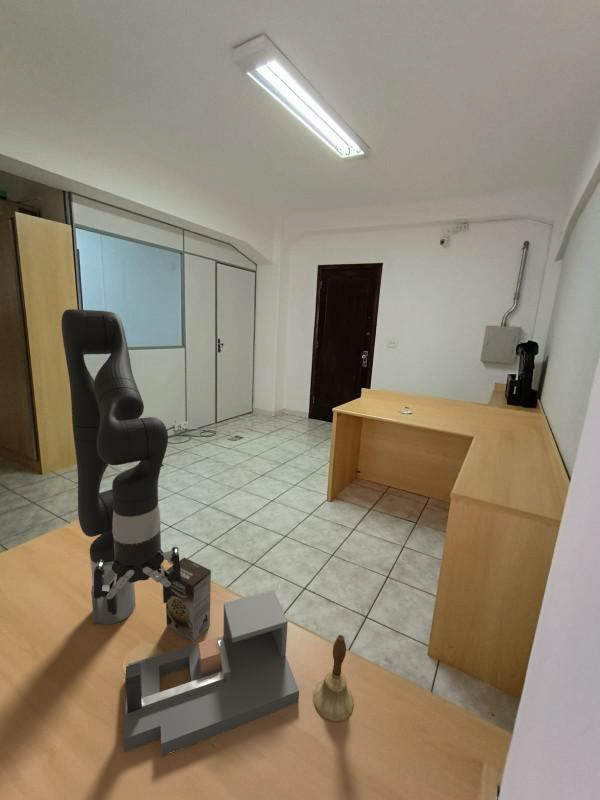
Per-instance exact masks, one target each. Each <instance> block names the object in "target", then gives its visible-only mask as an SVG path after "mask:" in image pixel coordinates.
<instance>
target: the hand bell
mask: <svg viewBox="0 0 600 800" xmlns="http://www.w3.org/2000/svg"><path fill="white" fill-rule="evenodd" d="M346 653H347V644H346V642H345V637H344V634H343V635H342V634H338V635H337V638H336V640H335V641H334V643H333V647H332V659H333V667H332V669H330V670H328V671H327V672H326V673H325V676H324V679H322V680H321V681H319V682H318V684H317V685H316V686H315V689H314V691H313V705H314V707H315V709H316V711H317V712H318V714H320V716H322V717H323V718H324V719H325V720H328V721H330V722H334V723H336V722H337V723H338V722H342V721H345V720H346V719H348V718H349V716H351V714H352V712H353V709H354V705H355V704H354V703H355V702H354V696H353V693H352V692H351V689H350V688H349V687H348V685H347V684H348V683H347V682H348V681H347V678H346V676H345V674H344V673H343V672H342V664H343V663H344V660H345V658H346Z"/></svg>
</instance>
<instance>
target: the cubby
mask: <svg viewBox="0 0 600 800" xmlns="http://www.w3.org/2000/svg"><path fill="white" fill-rule="evenodd" d="M284 612H285V611H284V610H283V608H282V606H281V604H280V601H279V599H278V596H277V594H276V592H275V590H274V589H273V590H269V591H265V592H260V593H257V594H253V595H250V596H249V595H248V596H245V597H242V598H237V599H234V600H233V599H232V600H230V601H227V602H223V629H222V630H223V631H222V633H223V634H222V636H217V638H218V641H220V640H224V644H225V649H226V653H227V658H228V662H229V667H230V671H231V677H230V681H229V682H226V683H223V684H220V685H217V686H214V687H211V688H209V689H206V690H203V691H200V692H197V693H194V694H191V695H188V696H186V697H183V698H180V699H177V700H174V701H171V702H168V703H165V704H163V705H160V706H157V707H154V708H151V709H148V710H145V711H142V712H139V713H137V714H134V715H131V716H128V712H127V697H126V698H125V713H124V728H123V749H124V750H123V751H124V752H125V751H126V752H128V751H132V750H133V749H136V748H138V747H142V746H143V745H147V744H150V743H151V742H154V741H157V740H160V747H161V749H160V750H161V752H160V753H161V757H164V755H165V756H167V755H169V754H168V753H170V752H172V753H174V752H173V751H175V752H177V751H179V749H180V750H182V749H185V748H187V747H190V746H192V745H195V744H197V743H199V741H200V742H203V741H205V740H207V739H210V738H212V737H216V736H217V735H219V734H222V733H225V732H228V731H230V730H232V729H235V728H237V727H240V726H242V725H245V724H247V723H249V722H252V721H255V720H258V719H260V718H262V717H265V716H267V715H270V714H273V713H275V712H278V711H281V710H283V709H286V708H288V707H290V706H293V705H295V704H297V703H299V702H300V701H299V699H300V689H299V686H298V684H297V682H296V678H295V675H294V674H293V671H292V668H291V666H290V664H289V660H288V659H287V656H286V654H287V636H288V626H289V625H288V619H287V617H286V614H285V613H284ZM136 663H141V681H142V698H144V697H147V696H150V695H153V694H156V693H159V692H161V684H160V683H161V682H160V681H161V680H160V679H161V677H163V676H166V675H169V674H172V673H176V672H179V671H181V670H184V669H185V670H186V669H188V671H189V682H192V681H195V680H198V679H201V678H204V677H207V676H210V675H213V674H216V673H219V672H221V668H220V669H217V670H214V671H211V672H208V673H205V674H202V675H201V670H200V663H199V642H198V643H195V644H192V645H188V646H184V647H181V648H178V649H174V650H172V651H171V650H170V651H168V652H165V653H161V654H158V655H154V656H153V655H152V656H150V657H146V658H144V659H141V660H136V661H135V662H134V661H133V662H130V663H128V664H127V666H130V665H133V664H136ZM189 745H190V746H189ZM186 746H187V747H186ZM184 747H185V748H184ZM181 748H182V749H181ZM176 750H177V751H176ZM166 754H167V755H166ZM170 754H171V753H170Z"/></svg>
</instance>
